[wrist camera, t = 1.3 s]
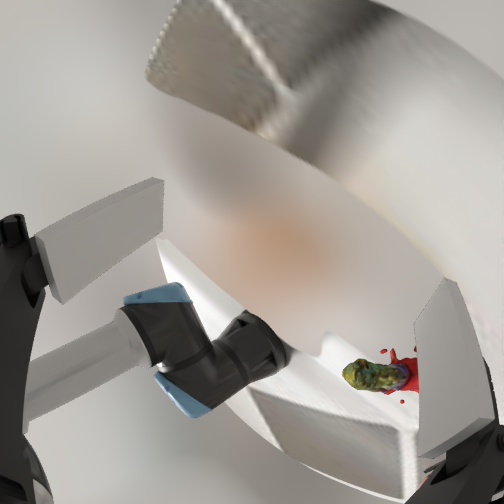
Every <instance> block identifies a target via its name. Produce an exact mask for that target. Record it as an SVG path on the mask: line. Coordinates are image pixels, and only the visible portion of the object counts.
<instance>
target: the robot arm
mask: <svg viewBox="0 0 504 504" xmlns="http://www.w3.org/2000/svg"><path fill="white" fill-rule="evenodd" d="M163 197H164V180H160V179H157V178H153V177H152V178H149V179H147V180H144V181H142V182H139V183H137V184H135V185H132V186H130V187H127V188H125V189H123V190H121V191H119V192H116V193H114V194H112V195H109V196H107V197H105V198H103V199H101V200H99V201H96V202H94V203H92V204H90V205H88V206H86V207H84V208H82V209H80V210H78V211H76V212H74V213H72V214H70V215H68V216H66V217H65V218H63V219H61V220H59V221H57V222H55V223H54V224H52V225H50V226H48V227H47V228H45V229H43V230H41V231H39V232H38V233H36V234H34V235H35V236H34V237H31V238H30V239H29V236H28V232H27V227H26V223H25V218H24V215H22V214H13V215H9V216H7V217H5V218H3V219H1V220H0V504H54V501H53V497H52V493H51V489H50V486H49V483H48V480H47V477H46V475H45V472H44V470H43V467H42V465H41V463H40V461H39V458H38V457H37V455H36V453H35V451H34V450H33V448H32V446H31V445H30V443H29V442H28V440H27V439H26V438H25V436H24V435H23V434H26V433H27V432H28V425H29V421H31V420H33V419H35V418H37V417H40V416H42V415H43V414H46V413H48V412H50V411H52V410H54V409H56V408H58V407H60V406H62V405H64V404H66V403H68V402H70V401H72V400H74V399H75V398H77V397H80V396H81V395H83V394H85V393H87V392H89V391H91V390H93V389H95V388H97V387H99V386H100V385H102V384H104V383H106V382H108V381H110V380H111V379H113V378H115V377H117V376H119V375H120V374H122V373H124V372H126V371H128V370H130V369H131V368H133V367H135V366H141V367H145V368H148V369H149V368H151V367H153V366H155V365H156V367H157V369H158V370H159V372H156V373H155V375H154V378H155V380H156V381H157V383H158V384H159V385H160V387H161V388H162V389H163V390H164V392H165V393H166V394H167V395H168V396H169V397H170V399H171V400H172V401H173V402H174V403H175V404H176V405H177V406H178V407H179V408H180V409H181V411H182V412H183V413H185V414H186V415H187V416H188V417H190V418H198V417H200V416H202V415H204V414H206V413H208V412H210V411H212V409H214V408H216V407H217V406H218V405H220V404H221V403H223V402H224V401H226V400H227V399H229V398H230V397H231V396H233V395H234V394H236V393H237V392H238V391H240V390H241V389H243V388H244V387H245V386H247V385H248V384H250V383H251V382H255V381H258V380H261V379H263V378H266V377H269V376H272V375H274V374H276V373H277V372H279V371H280V370H281V369H282V368H283V367H284V366H285V362H286V357H285V352H284V349H283V346H282V344H281V342H280V340H279V338H278V337H277V335H276V334H275V332H274V331H273V330H272V329H271V328H270V327H269V326H268V324H267V323H266V322H264V321H263V320H262V319H261V318H259V317H258V316H256V315H254V314H251V313H242V314H241V315H239V316H237V317H236V318H234V319H233V320H232V321H231V323H230V324H229V325H228V326H227V327H226V329H225V330H224V331H223V332H222V333H221V335H220V336H219V337H218V338H217V339H215V340H214V341H212V342H211V341H210V339H209V337H208V335H207V333H206V331H205V329H204V327H203V325H202V323H201V321H200V319H199V316H198V314H197V312H196V310H195V308H194V306H193V301H192V300H190V298H189V296H188V294H187V292H186V290H185V288H184V286H183V285H182V284H180V283H177V282H173V283H169V284H165V285H162V286H158V287H155V288H152V289H148V290H145V291H142V292H139V293H136V294H132V295H129V296H126V297H124V298H123V304H124V305H125V306H124V307H122V308H120V309H118V310H116V313H115V316H114V319H113V321H112V322H111V323H109V324H107V325H104V326H102V327H100V328H98V329H96V330H94V331H92V332H90V333H88V334H86V335H84V336H82V337H80V338H78V339H76V340H74V341H72V342H70V343H67V344H65V345H63V346H61V347H59V348H57V349H55V350H53V351H51V352H49V353H47V354H45V355H43V356H41V357H39V358H37V359H35V360H32V361H30V356H31V351H32V346H33V341H34V337H35V332H36V328H37V324H38V319H39V316H40V312H41V309H42V306H43V302H44V299H45V294H46V292H45V289H44V287H45V286H47V285H48V284H49V287H50V289H51V293H52V295H53V297H54V298H55V299H57V300H58V301H59V302H60V303H61V304H62V305H63V304H65V303H66V302H67V301H69V300H70V299H71V298H72V297H74V296H75V295H76V294H77V293H79V292H80V291H81V290H82V289H84V288H85V287H86V286H88V285H89V284H90V283H92V282H93V281H94V280H95V279H97V278H98V277H99V276H101V275H102V274H103V273H105V272H106V271H107V270H108V269H110V268H111V267H112V266H114V265H115V264H117V263H118V262H120V261H121V260H122V259H124V258H125V257H126V256H128V255H129V254H131V253H132V252H133V251H135V250H136V249H138V248H139V247H140V246H142V245H143V244H145V243H146V242H148V241H149V240H151V239H152V238H153V237H155V236H156V235H158V234H159V233H161V232H162V231H163ZM414 330H415V339H416V349H417V360H418V376H419V438H418V452H417V457H418V458H431V459H434V458H436V457H438V456H439V455H441V454H443V453H445V452H446V459H445V460H443V461H441V462H439V463H437V464H435V465H433V466H431V467H429V468H427V469H426V470H425V471H424V473H427V472H430V471H432V470H434V471H433V472H432V473H431V474H430V475H428V478H427V479H426V481H425V482H424V483H423V484H422V485H421V486H420V488H419V489H418V490H417V491H416V492H415V493H414V494H413V495H412V496H411V497H410V498H409V500H408V501H407V502H406V503H405V504H504V495H503V497H501V498H499V499H497V500H495V501H491V500H492V496H493V495H495V494H497V493H499V492H501V491H503V490H504V425H500V424H499V417H498V410H497V404H496V398H495V393H494V391H493V389H494V388H493V383H492V382H491V380H492V379H491V374H490V370H489V367H488V365H487V363H486V361H485V359H484V358H483V357H482V353H481V349H480V346H479V343H478V339H477V336H476V333H475V330H474V327H473V324H472V321H471V318H470V315H469V312H468V310H467V307H466V304H465V302H464V299H463V297H462V294H461V292H460V289H459V287H458V285H457V283H456V282H454V281H452V280H449V279H447V278H445V277H444V278H443V279H442V281H441V283H440V284H439V286H438V288H437V289H436V291H435V292H434V294H433V296H432V297H431V299H430V300H429V302H428V304H427V305H426V307H425V308H424V310H423V311H422V313H421V314H420V315H419V317H418V319H417V320H416V321H415V323H414ZM29 361H30V362H29Z"/></svg>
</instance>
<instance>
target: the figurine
mask: <svg viewBox="0 0 504 504" xmlns="http://www.w3.org/2000/svg"><path fill="white" fill-rule="evenodd" d="M414 351H415V352H417V349H416V346H415V348H414ZM380 352H381V353H382V354H383V353H385V352H387V349H383V350H381V351H380ZM390 354H391V364H389V365H382V364H374V363H371V362H368V361H367V360H365V359H357V360H356V361H355V362H354V363H350V364H349V365H347V366H346V367H345V368H344V369H343V371H342V376H343V377H344V379H345V380H346V381H347V382H348V383H349V384H350V385H351V386H352V387H354V388H355V389H357V390H368V391H372V392H382V393H384V394H387V395H389V394H391V393H392V392H394V391H396V390H397V391H399V390H401V391H406V390H410V391H416V392H418V393H419V376H418V360H417V358H412V359H410V358H404V359H402V360H398V359H397V358H396V353H395V351H394V349H392V350H391V351H390ZM400 403H401V404H403V403H404V400H401V401H400Z"/></svg>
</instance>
